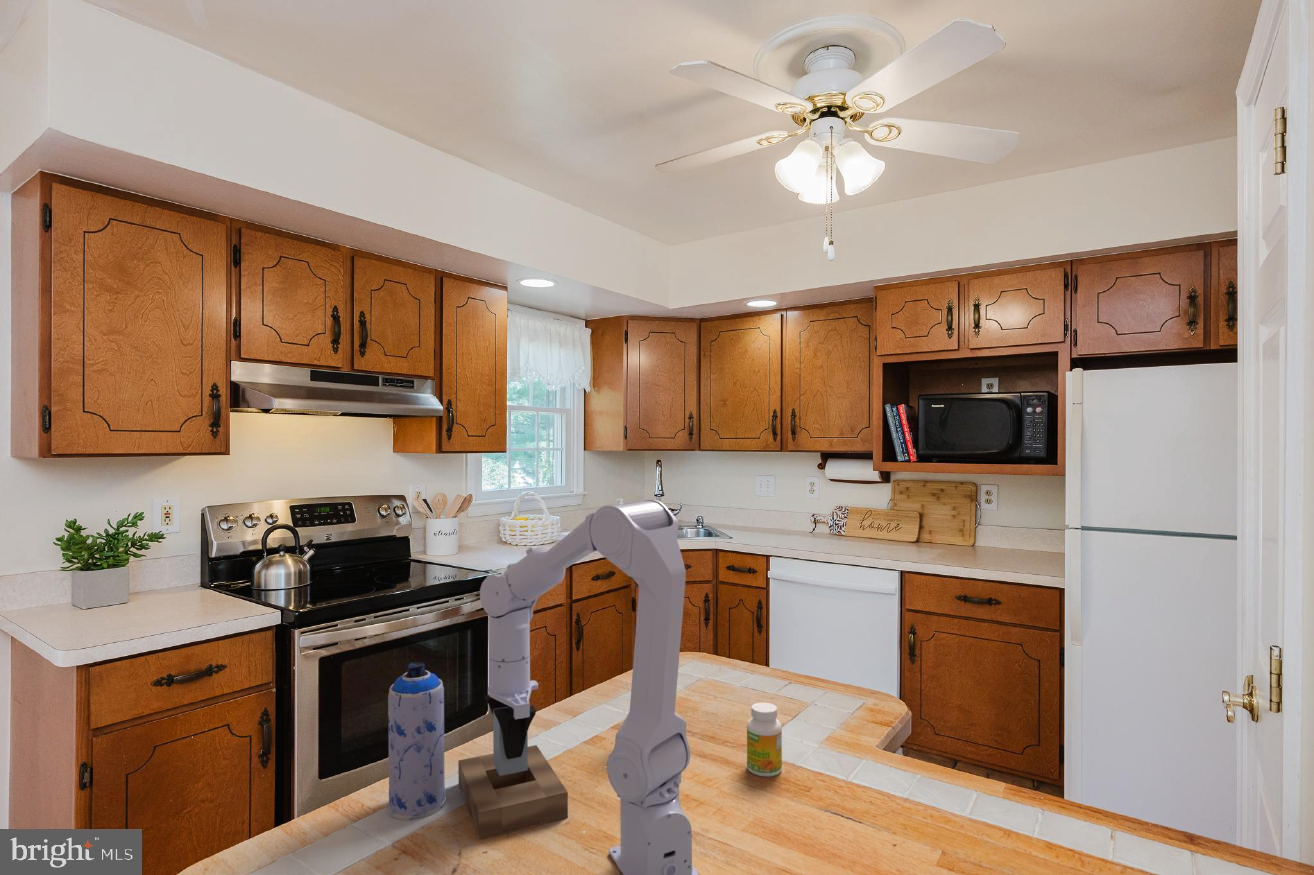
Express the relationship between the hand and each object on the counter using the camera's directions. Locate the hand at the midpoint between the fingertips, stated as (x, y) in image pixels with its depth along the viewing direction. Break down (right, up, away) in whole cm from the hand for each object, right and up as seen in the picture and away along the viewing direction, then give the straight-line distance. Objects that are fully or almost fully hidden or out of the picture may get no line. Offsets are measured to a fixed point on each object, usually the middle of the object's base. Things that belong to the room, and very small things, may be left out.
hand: (510, 750), depth 101 cm
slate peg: (0, -2, 0) cm, 2 cm away
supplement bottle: (+38, -7, +9) cm, 40 cm away
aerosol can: (-13, -7, -1) cm, 15 cm away
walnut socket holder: (0, -7, 0) cm, 7 cm away
